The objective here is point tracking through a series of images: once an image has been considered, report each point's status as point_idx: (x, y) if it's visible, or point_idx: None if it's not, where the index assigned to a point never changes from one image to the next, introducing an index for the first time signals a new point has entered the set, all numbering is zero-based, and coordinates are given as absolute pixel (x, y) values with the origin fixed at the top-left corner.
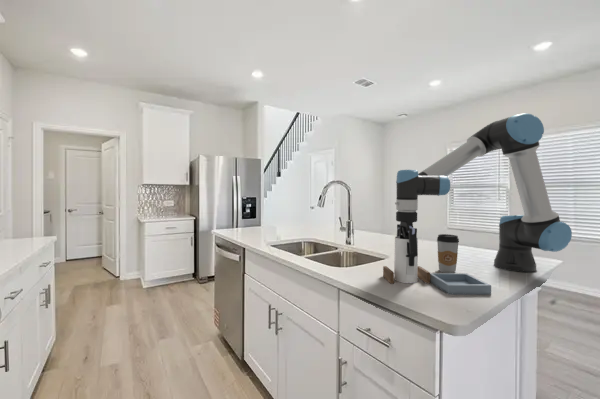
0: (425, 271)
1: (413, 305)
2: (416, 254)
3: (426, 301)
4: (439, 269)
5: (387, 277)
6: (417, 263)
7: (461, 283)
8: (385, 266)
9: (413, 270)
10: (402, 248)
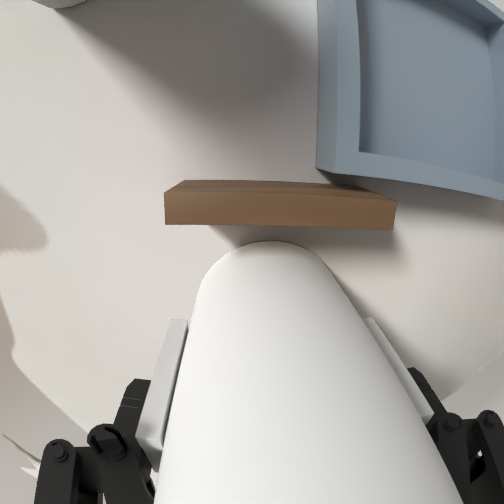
0: (364, 225)
1: (495, 347)
2: (494, 425)
3: (499, 308)
4: (68, 5)
5: None
6: (351, 320)
7: (395, 18)
8: None
9: (382, 340)
10: None
